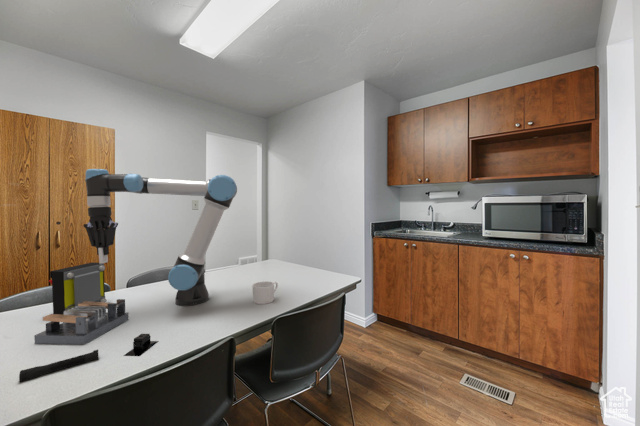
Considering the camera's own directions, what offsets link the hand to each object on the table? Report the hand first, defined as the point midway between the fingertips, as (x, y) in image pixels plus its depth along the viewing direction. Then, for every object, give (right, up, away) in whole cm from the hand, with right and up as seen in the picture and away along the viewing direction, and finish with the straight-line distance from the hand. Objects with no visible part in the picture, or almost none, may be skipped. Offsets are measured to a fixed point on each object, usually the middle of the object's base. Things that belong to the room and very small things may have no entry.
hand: (103, 262), depth 112 cm
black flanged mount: (+31, -25, -23) cm, 46 cm away
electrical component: (-20, -24, +11) cm, 33 cm away
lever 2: (0, -17, -3) cm, 18 cm away
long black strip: (+15, -25, -34) cm, 45 cm away
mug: (+64, -23, +22) cm, 71 cm away
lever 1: (0, -18, -16) cm, 24 cm away
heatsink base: (+1, -24, -10) cm, 26 cm away
